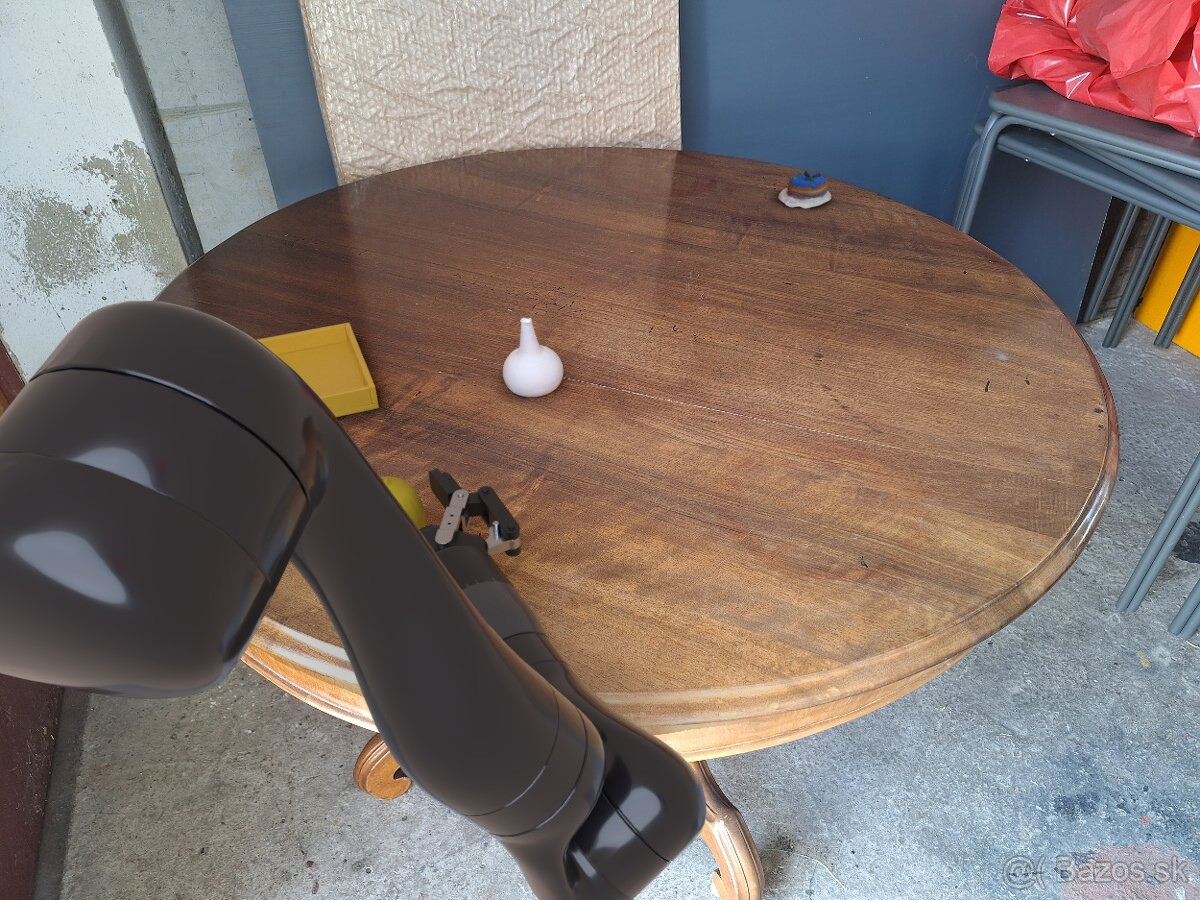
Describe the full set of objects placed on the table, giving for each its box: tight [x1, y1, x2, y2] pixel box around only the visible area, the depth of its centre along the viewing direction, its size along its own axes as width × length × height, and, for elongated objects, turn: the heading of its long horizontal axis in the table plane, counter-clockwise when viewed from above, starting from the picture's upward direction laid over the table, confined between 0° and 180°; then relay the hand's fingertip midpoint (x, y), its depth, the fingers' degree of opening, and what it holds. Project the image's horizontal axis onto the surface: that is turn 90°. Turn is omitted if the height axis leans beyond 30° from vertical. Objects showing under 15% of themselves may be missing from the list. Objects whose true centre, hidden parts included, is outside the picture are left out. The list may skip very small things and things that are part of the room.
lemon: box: [380, 475, 427, 529], centre depth 71 cm, size 6×6×8 cm
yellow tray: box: [256, 322, 380, 418], centre depth 93 cm, size 14×14×3 cm
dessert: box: [778, 170, 832, 210], centre depth 135 cm, size 8×7×6 cm
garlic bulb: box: [502, 317, 564, 398], centre depth 92 cm, size 6×6×8 cm
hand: (382, 496), depth 70 cm, fingers open, 8 cm apart
